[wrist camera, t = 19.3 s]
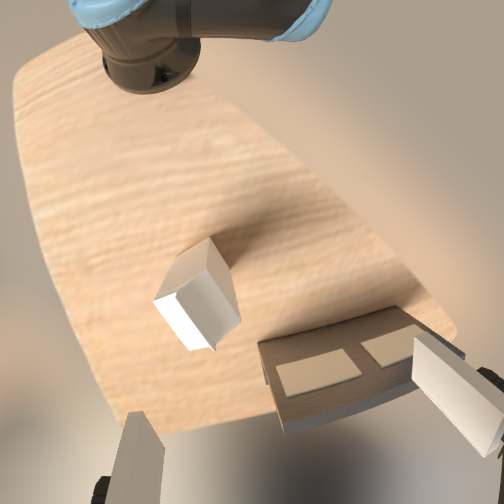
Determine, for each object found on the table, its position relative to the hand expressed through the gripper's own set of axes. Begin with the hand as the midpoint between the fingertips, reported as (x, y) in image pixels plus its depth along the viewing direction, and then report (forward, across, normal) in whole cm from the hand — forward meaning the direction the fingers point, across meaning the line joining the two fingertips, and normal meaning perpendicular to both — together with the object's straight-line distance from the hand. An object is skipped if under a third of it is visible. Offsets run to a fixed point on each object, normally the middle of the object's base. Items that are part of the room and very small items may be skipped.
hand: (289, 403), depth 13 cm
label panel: (+34, +13, -21) cm, 42 cm away
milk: (+34, -5, -2) cm, 35 cm away
